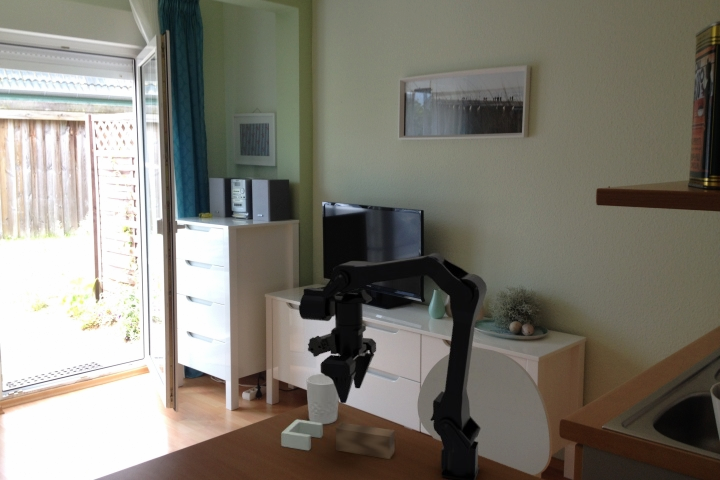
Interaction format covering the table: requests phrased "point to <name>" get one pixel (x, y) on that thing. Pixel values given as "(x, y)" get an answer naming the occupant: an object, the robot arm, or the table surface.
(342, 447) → the brown wooden block
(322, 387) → the white cup
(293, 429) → the bracket
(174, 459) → the table surface
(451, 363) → the robot arm
